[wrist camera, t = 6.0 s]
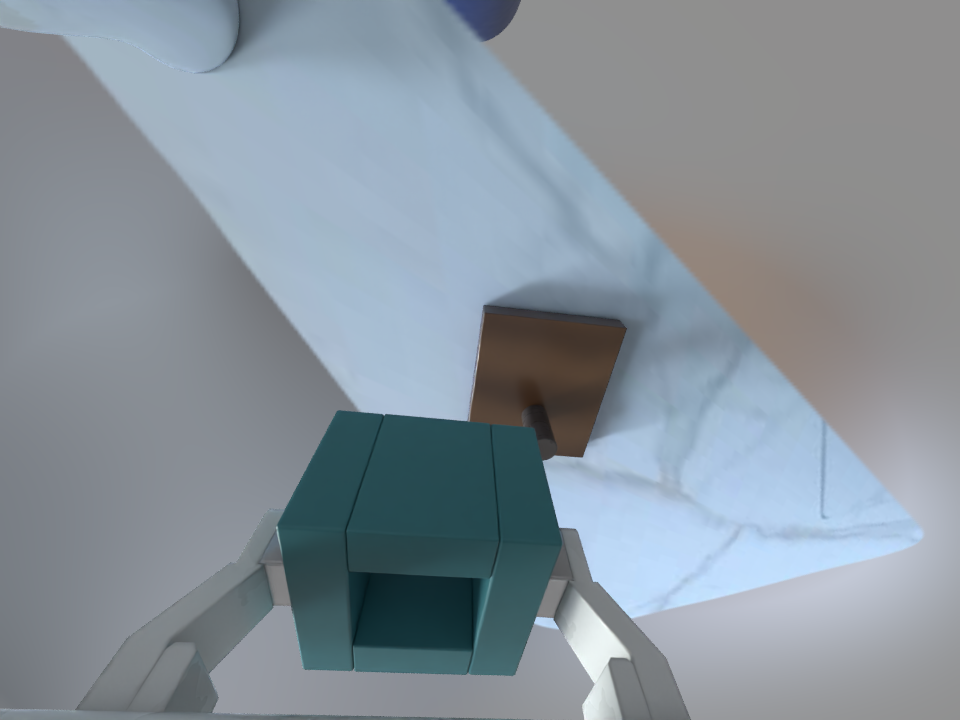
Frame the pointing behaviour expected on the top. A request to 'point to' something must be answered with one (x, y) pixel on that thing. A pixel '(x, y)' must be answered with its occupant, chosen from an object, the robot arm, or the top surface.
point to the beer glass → (138, 26)
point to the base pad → (544, 374)
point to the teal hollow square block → (419, 546)
